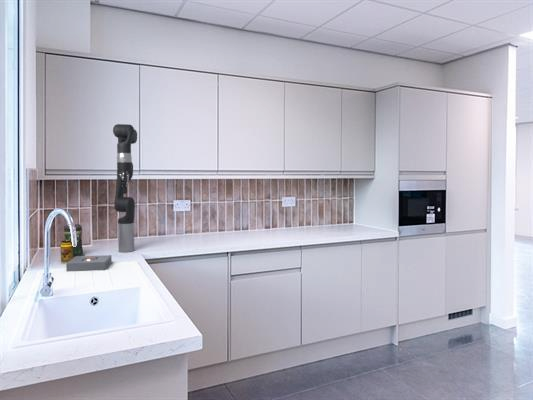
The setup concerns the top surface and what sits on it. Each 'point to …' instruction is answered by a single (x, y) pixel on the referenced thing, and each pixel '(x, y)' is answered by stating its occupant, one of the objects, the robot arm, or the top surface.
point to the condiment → (66, 251)
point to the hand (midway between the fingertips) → (125, 193)
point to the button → (89, 258)
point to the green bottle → (78, 249)
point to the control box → (88, 263)
